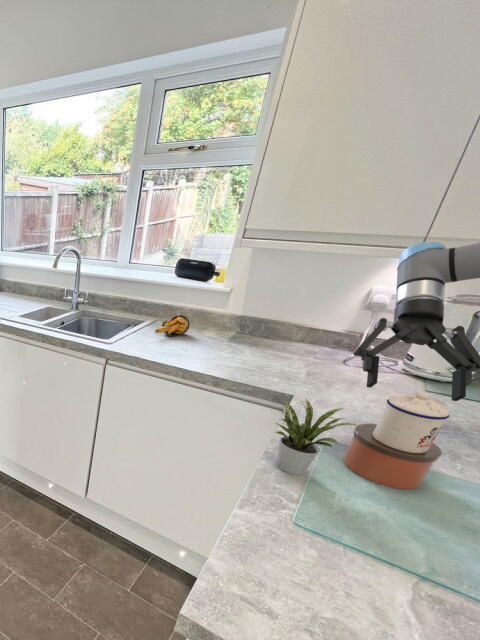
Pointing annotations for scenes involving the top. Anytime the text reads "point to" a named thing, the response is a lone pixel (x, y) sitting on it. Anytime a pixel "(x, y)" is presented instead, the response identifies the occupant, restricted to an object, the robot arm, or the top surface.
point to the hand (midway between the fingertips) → (413, 391)
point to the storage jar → (387, 460)
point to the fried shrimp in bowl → (175, 326)
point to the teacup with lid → (410, 422)
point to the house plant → (302, 439)
